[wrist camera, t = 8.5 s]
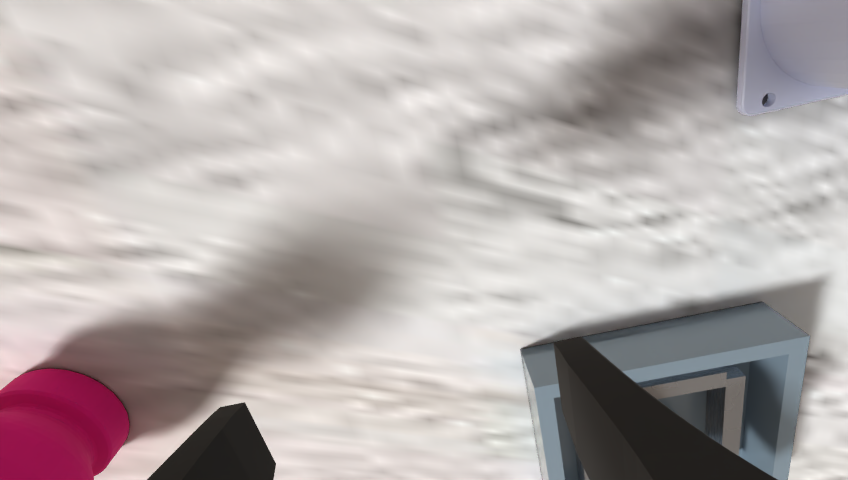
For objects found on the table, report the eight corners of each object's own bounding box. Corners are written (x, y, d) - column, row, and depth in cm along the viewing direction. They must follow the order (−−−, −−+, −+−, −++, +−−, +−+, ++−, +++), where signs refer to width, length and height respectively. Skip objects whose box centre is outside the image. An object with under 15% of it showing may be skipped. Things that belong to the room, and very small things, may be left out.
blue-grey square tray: (762, 301, 21) (810, 335, 19) (745, 470, 26) (782, 515, 24) (520, 349, 22) (534, 388, 20) (546, 504, 27) (560, 551, 24)
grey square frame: (726, 349, 22) (746, 368, 21) (719, 461, 25) (736, 483, 24) (566, 380, 22) (576, 400, 21) (579, 485, 26) (588, 508, 24)
